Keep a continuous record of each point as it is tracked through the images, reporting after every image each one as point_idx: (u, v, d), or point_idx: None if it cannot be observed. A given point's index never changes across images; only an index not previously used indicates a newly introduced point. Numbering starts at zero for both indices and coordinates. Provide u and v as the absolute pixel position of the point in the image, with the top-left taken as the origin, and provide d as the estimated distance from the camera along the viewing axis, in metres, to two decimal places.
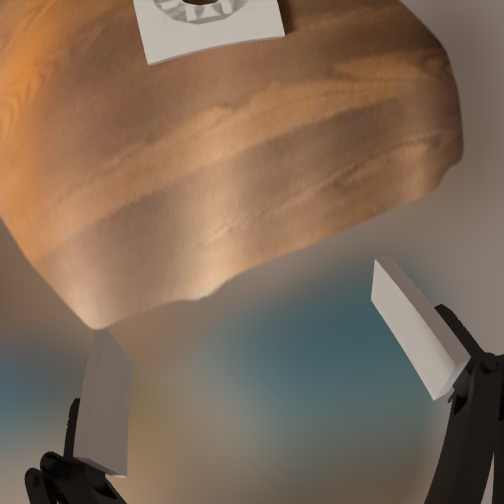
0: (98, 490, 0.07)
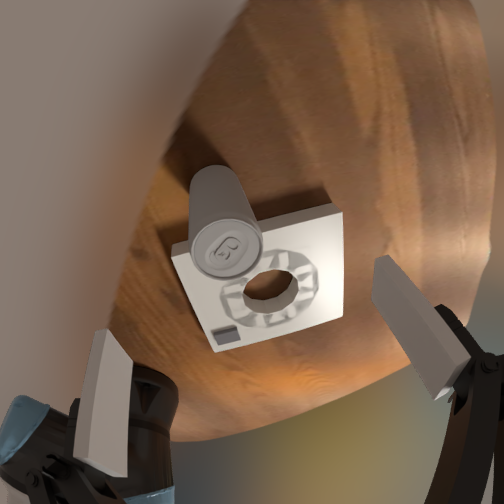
0: (98, 490, 0.07)
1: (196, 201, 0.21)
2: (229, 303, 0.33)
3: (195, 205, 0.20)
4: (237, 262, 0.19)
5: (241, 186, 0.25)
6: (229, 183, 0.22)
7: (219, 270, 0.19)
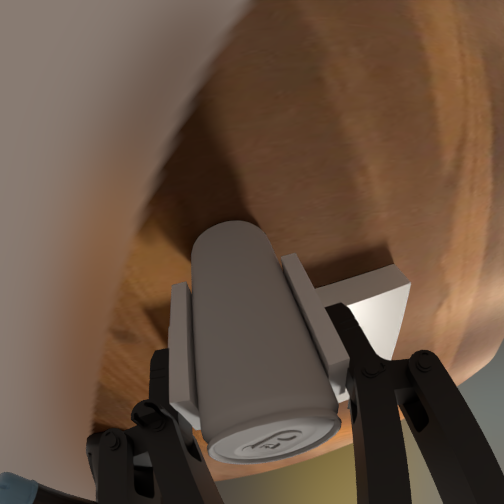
0: None
1: (207, 327, 0.11)
2: None
3: (206, 339, 0.10)
4: (290, 447, 0.09)
5: None
6: (266, 278, 0.12)
7: (257, 456, 0.09)
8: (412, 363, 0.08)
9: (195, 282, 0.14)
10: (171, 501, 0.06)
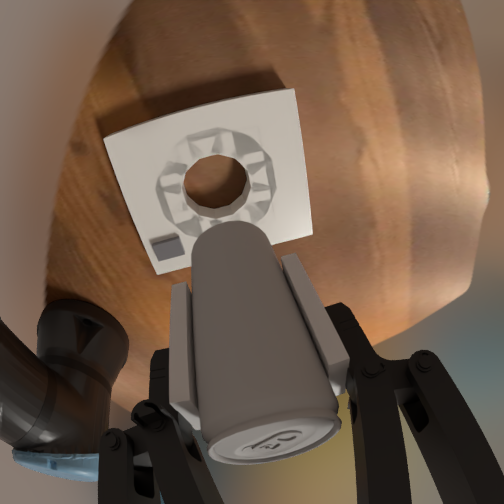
0: None
1: (207, 327, 0.10)
2: (167, 200, 0.27)
3: (206, 339, 0.10)
4: (290, 448, 0.09)
5: None
6: (266, 278, 0.12)
7: (257, 456, 0.09)
8: (412, 363, 0.08)
9: (195, 282, 0.14)
10: (171, 501, 0.06)
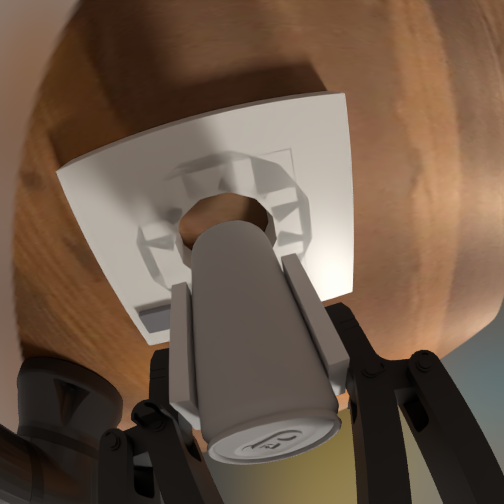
0: None
1: (207, 326, 0.10)
2: (156, 258, 0.19)
3: (206, 339, 0.10)
4: (290, 447, 0.09)
5: None
6: (266, 278, 0.12)
7: (257, 456, 0.09)
8: (412, 363, 0.08)
9: (195, 282, 0.14)
10: (171, 501, 0.06)
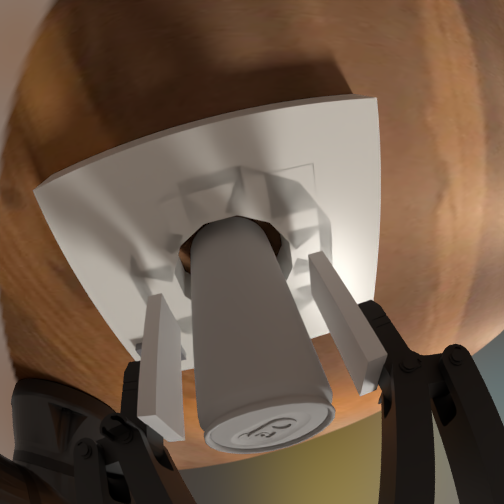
0: None
1: (205, 317, 0.11)
2: (152, 290, 0.16)
3: (204, 329, 0.11)
4: (285, 436, 0.09)
5: None
6: (263, 271, 0.13)
7: (254, 445, 0.09)
8: (445, 356, 0.08)
9: (194, 276, 0.14)
10: None
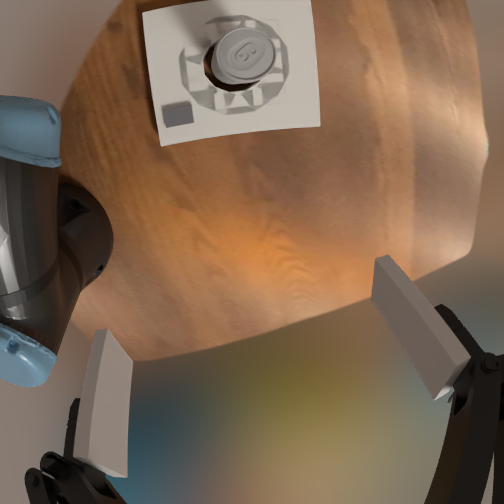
0: (98, 490, 0.07)
1: None
2: (188, 68, 0.25)
3: None
4: (253, 65, 0.18)
5: None
6: None
7: (236, 70, 0.19)
8: None
9: None
10: None
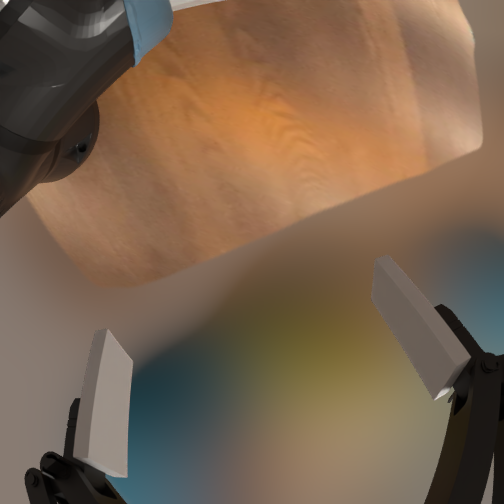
0: (98, 490, 0.07)
1: None
2: None
3: None
4: None
5: None
6: None
7: None
8: None
9: None
10: None
